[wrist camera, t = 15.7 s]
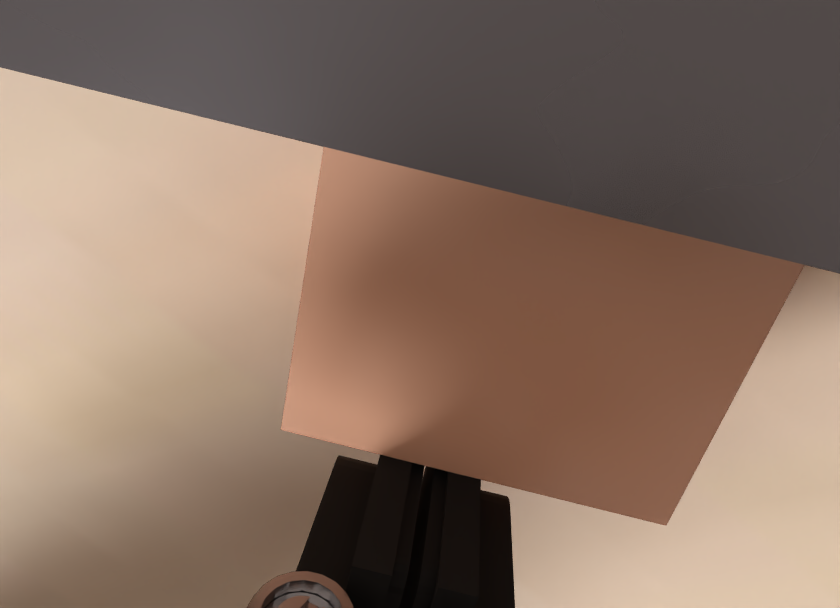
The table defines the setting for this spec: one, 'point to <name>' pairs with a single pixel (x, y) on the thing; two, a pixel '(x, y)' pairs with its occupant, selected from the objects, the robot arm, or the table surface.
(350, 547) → the robot arm
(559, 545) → the table surface
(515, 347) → the terracotta slab
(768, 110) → the grey open-ended tunnel
